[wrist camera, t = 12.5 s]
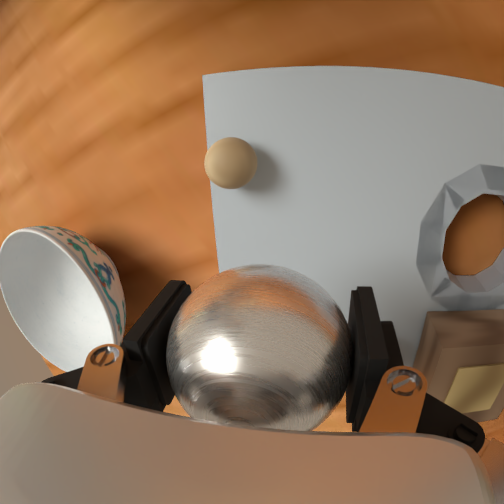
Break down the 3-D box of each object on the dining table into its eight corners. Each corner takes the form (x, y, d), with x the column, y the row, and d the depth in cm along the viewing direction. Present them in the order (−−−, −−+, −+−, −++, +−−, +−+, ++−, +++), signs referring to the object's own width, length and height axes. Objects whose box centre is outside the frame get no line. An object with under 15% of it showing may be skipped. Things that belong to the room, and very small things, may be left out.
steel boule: (210, 356, 15) (164, 460, 9) (190, 235, 12) (104, 328, 7) (341, 363, 13) (340, 482, 8) (353, 236, 11) (378, 349, 6)
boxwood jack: (216, 184, 22) (199, 194, 19) (212, 137, 20) (194, 140, 18) (263, 183, 21) (252, 193, 18) (260, 134, 20) (249, 136, 17)
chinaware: (117, 354, 35) (82, 396, 28) (33, 266, 33) (-10, 294, 26) (185, 283, 29) (145, 332, 22) (76, 172, 27) (17, 191, 20)
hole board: (238, 343, 30) (230, 363, 27) (216, 80, 22) (202, 75, 19) (508, 343, 24) (519, 361, 21) (549, 107, 16) (569, 108, 13)
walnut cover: (404, 391, 25) (411, 431, 20) (427, 311, 21) (443, 349, 17) (483, 385, 23) (497, 420, 19) (514, 308, 20) (538, 340, 15)
